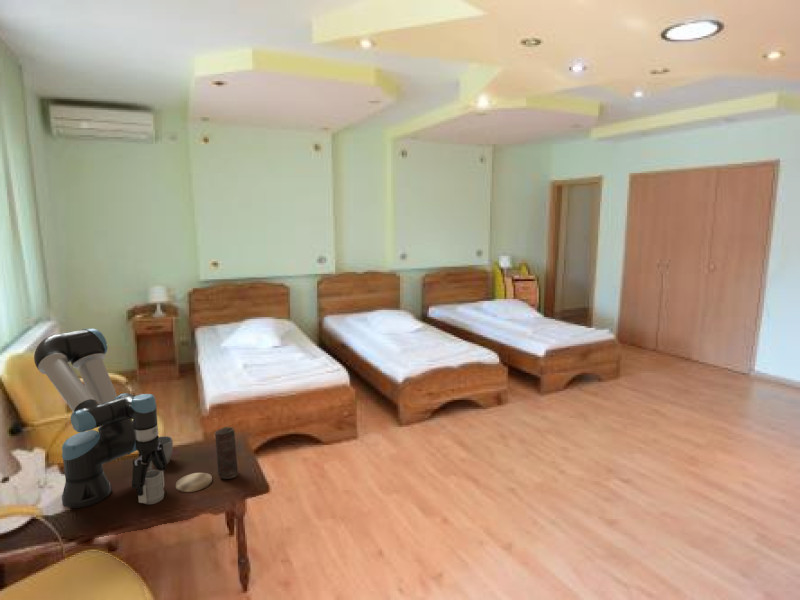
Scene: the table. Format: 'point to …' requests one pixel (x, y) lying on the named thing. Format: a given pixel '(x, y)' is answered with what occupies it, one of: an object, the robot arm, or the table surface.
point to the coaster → (193, 482)
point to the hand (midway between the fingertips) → (152, 494)
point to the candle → (226, 453)
